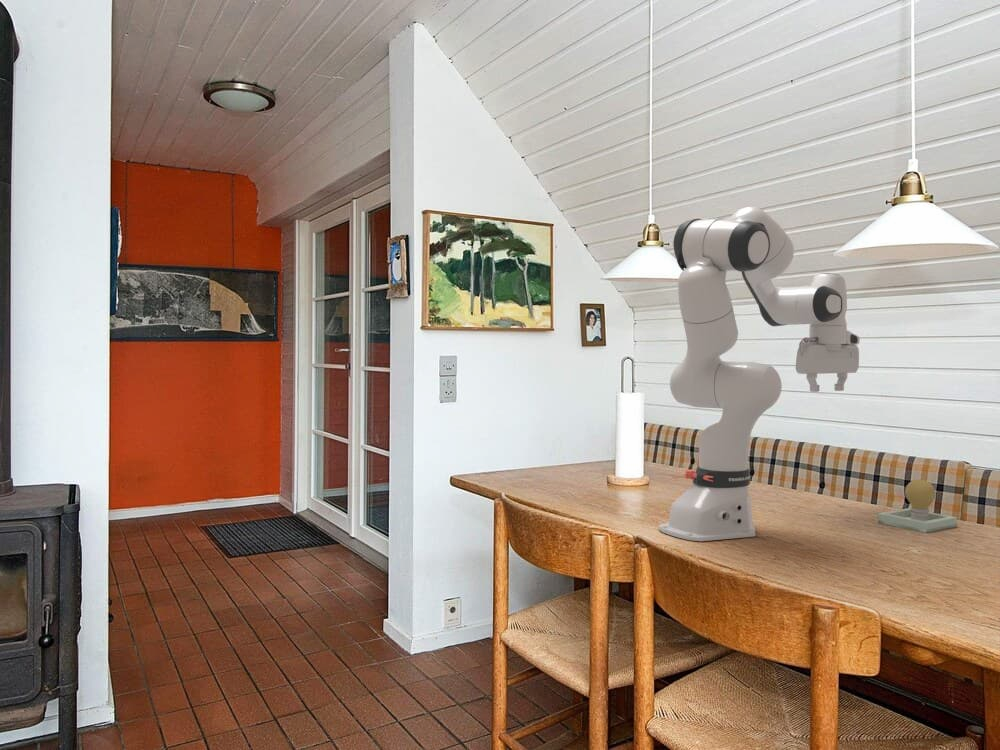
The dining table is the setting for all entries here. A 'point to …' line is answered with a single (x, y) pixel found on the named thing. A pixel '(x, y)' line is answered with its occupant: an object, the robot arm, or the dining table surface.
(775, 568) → the dining table surface
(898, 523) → the tray
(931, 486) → the light bulb
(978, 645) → the dining table surface
